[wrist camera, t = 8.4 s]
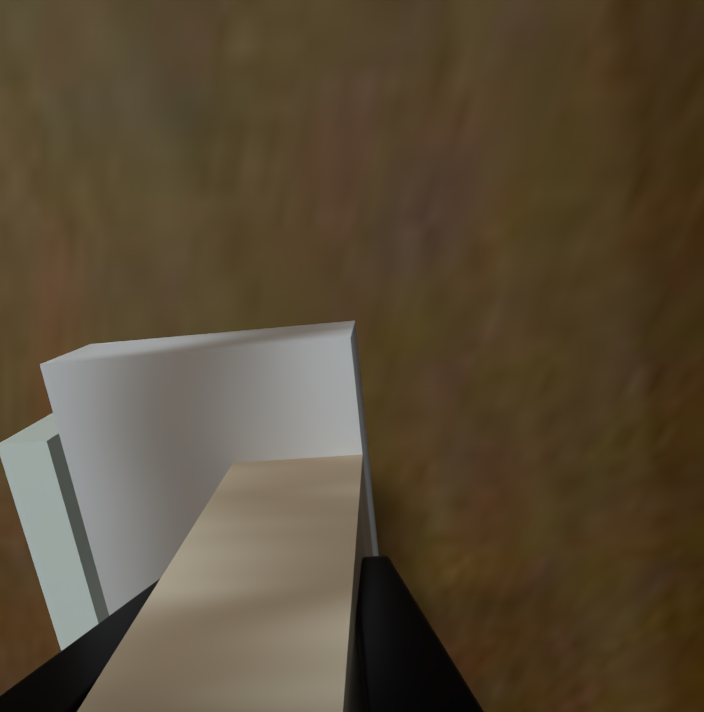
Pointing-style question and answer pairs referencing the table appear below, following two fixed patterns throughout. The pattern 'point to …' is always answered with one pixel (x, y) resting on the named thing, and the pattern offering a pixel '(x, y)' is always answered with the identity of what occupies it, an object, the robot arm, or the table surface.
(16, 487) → the stop rail
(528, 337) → the table surface
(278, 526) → the plate with square post
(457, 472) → the table surface
